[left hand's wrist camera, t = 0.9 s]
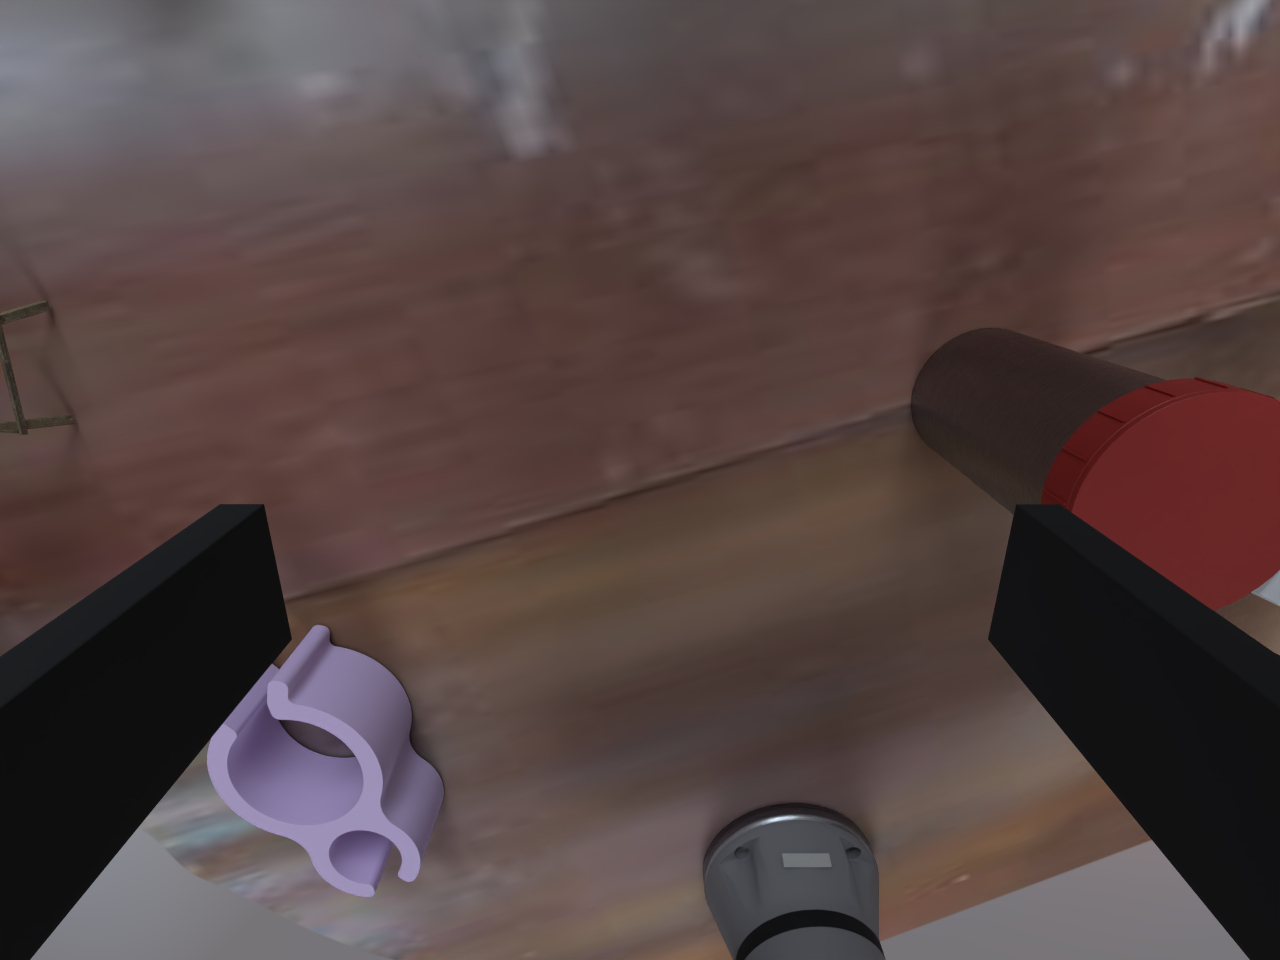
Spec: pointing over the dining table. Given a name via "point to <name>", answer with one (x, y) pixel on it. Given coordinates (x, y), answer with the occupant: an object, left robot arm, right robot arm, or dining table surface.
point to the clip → (330, 765)
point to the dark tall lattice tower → (20, 423)
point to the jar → (1011, 407)
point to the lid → (1181, 483)
